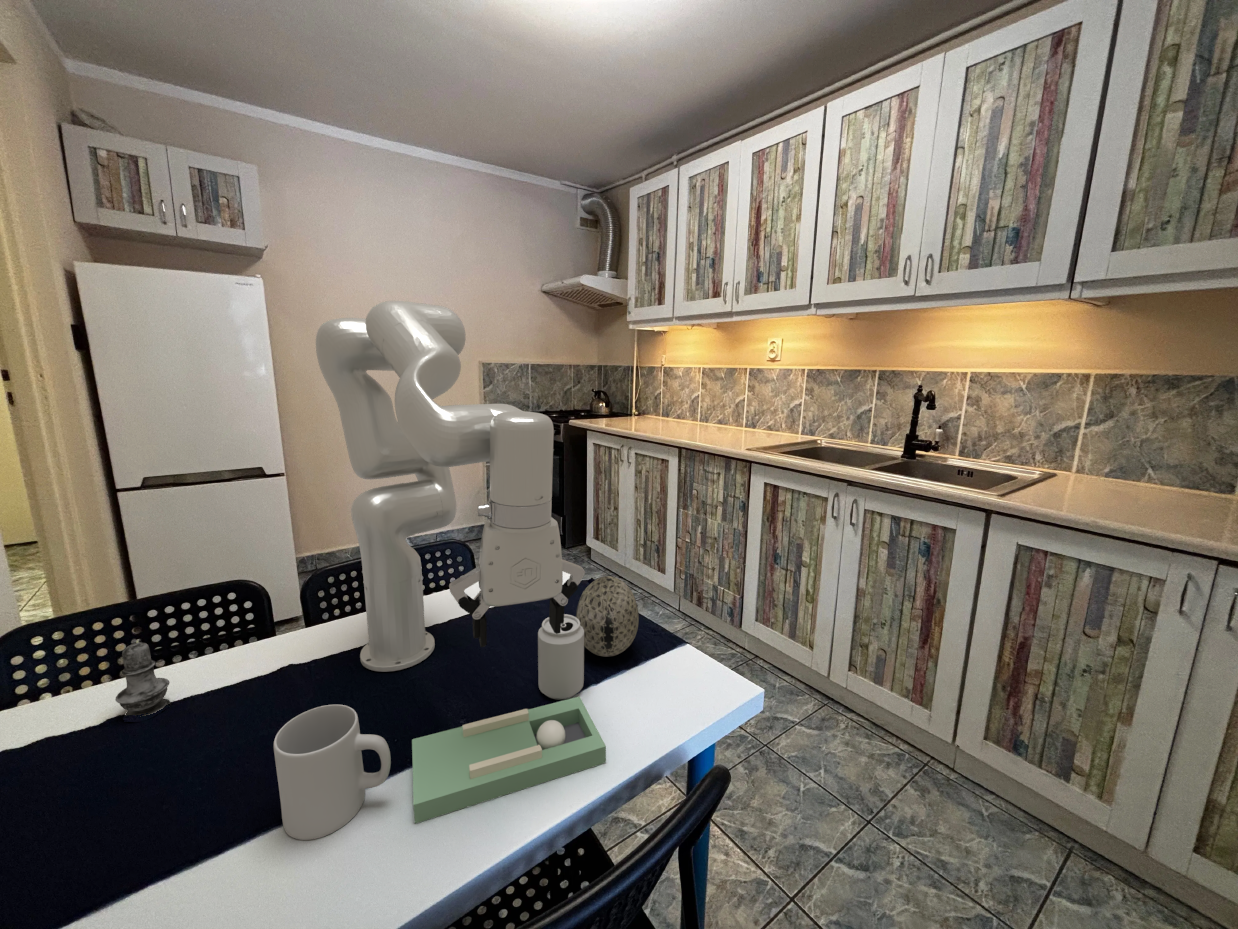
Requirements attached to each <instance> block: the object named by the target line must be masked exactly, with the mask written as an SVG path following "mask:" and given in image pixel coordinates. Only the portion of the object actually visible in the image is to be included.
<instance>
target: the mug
mask: <svg viewBox="0 0 1238 929" xmlns="http://www.w3.org/2000/svg"><path fill="white" fill-rule="evenodd" d="M364 750H373V751H375V752H376V753H377V754H378V757H379V760H380V769H379V771H376V772H367V771H365V770H364V763H363V754H362V751H364ZM273 753H274V761H275V767H276V768H275V769H276V776H277V782H278V784H277V785H278V791H279V799H280V800H279V801H280V809H281V810H280V811H281V819H282V826H283V829H284V831H285V833H286V834H287V835H288V836H290V837H291V838H293V839H296V840H299V841H309V840H310V841H311V840H317V839H321V838H323V837H326V836H329V835H330V834H332V833H335V832H336V831H338V830H340V829H342V827H344V826H345V825H347V824H348V823H349V822H350V821H351V820H352V819H353V818H355V817H356V815H357V814H358V813H359V811H360V809H361V808H362V806H363V804H364V801H365V799H366V798H365V797H366V789H367V790H368V789H372V788H377V787H380V785H383V784H384V783H385V781H387V779H388V777H389V774H390V770H391V764H392V761H391V759H392V758H391V751H390V748H389V744H388V743H387V741H386V739H385V738H384V737H382V736H381V735H378V734H370V733H369V734H366V733H365V734H363V733H361V730H360V723H359V717H358V713H357V712H356V710H355V709H354V708H352V707H350V706H348V705H345V704H344V705H343V704H328V705H321V706H317V707H314V708H311V709H308V710H307V711H304V712H302V713H300V714H298V715H296V716H295V717H293V718H291V719H290V720H288V721H287V722H286V723H285V724H284V725H283V726H282V727H281V728H280V729H279V730H278V731H277V733H276V735H275V738H274V741H273Z"/></svg>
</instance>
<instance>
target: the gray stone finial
mask: <svg viewBox="0 0 1238 929" xmlns="http://www.w3.org/2000/svg"><path fill="white" fill-rule="evenodd" d="M130 643H131V644H130V645H128V646H127V647H125V648H124V649H123V650H122V652H121V653H122V654H121V656H122V662H123V667H124V668H123V669H122V670H121V674H122V675H124V676H125V681H126V687H125V688H123V689H122V690H121V691H119V692H118V693H117V695H116V697H115V702H116V703H118V704H119V705H120V707H121V708H123V710H124V711H125V710H126V712H127V713H126V712H125V713H126V716H127V715H135V716H136V715H141V714H144V715H142V716H146V715H150V714H153V713H156V712H157V711H159V710H161V709H163V708H164V707H165V706H166V705H168V704H170V705H171V701H170V699H167V698H165V697H166V694H167V692H168V686H169V685H170V680H169V679H168V678H165V677H157V675H156V674H155V669H154V666H155V665H156V661H155V660H153V659H152V658H151V657H152V656H151V649H150V647H149V644H147V643H146V642H138V640H137V639H136V638H132V639H131V641H130ZM146 713H148V714H146ZM140 717H141V716H140Z"/></svg>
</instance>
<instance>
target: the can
mask: <svg viewBox="0 0 1238 929" xmlns="http://www.w3.org/2000/svg"><path fill="white" fill-rule="evenodd" d="M537 656H538V657H537V662H538V663H537V666H538V667H537V670H538V678H537V679H538V688H539V689H538V690H540V692H541V693H542V694H544V695H545V696H546V697H548V698H549V699H553V700H556V701H557V700H560V701H564V700H568V699H571V698H572V697H574V696H575V695H576V694H577V693H579V692H580V691H581V690H582V689H583V687H584V681H585V676H584V675H585V646H584V629H583V627H582V626H581V625H580V621H579V619H577V618H576V616H574V615H572V614H567V613H566V614H565V613H564V623H562V624H561V628H560V633H558V634H556V633H554V631H553V629H552V627H551V625H550V623H549V616H548V617H547V618H545V619H543V621H542V623H541V627H540V628H539V629H538V632H537Z"/></svg>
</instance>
